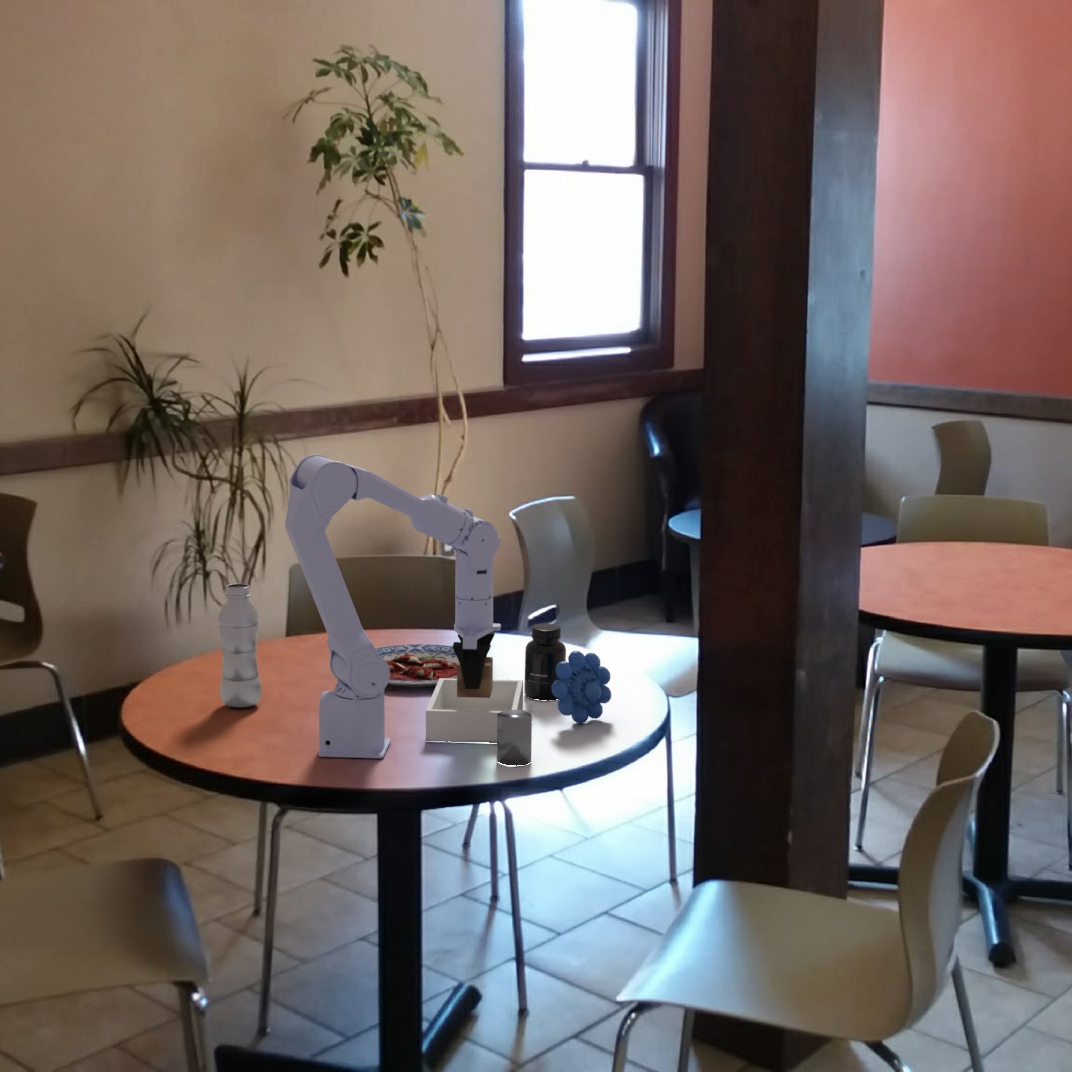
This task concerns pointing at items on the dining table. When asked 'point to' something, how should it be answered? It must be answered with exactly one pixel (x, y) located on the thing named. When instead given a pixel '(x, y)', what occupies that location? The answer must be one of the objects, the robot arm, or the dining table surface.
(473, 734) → the box
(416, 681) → the ceramic plate
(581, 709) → the blue knobbed flower shape
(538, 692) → the supplement bottle
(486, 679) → the walnut cube
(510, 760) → the grey metal cylinder
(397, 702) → the dining table surface
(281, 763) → the dining table surface
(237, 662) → the plastic bottle
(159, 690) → the dining table surface
